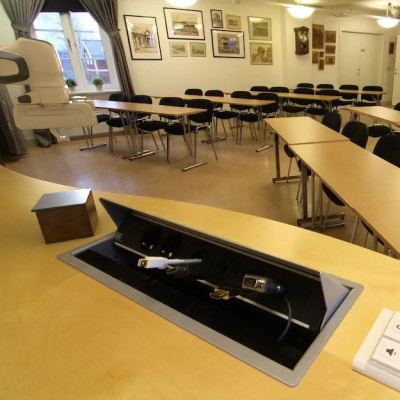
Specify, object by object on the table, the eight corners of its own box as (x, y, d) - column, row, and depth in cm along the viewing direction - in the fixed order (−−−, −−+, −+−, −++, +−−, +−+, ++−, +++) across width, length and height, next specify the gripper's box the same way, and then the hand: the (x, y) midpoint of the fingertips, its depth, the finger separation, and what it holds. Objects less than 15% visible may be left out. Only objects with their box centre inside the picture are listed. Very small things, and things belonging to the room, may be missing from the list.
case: (45, 244, 99) (35, 212, 95) (55, 224, 112) (47, 195, 108) (94, 235, 105) (86, 205, 101) (98, 218, 118) (91, 190, 114)
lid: (31, 212, 95) (30, 210, 95) (43, 196, 108) (43, 193, 107) (85, 205, 101) (85, 203, 101) (91, 190, 114) (91, 188, 113)
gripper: (93, 95, 105) (103, 138, 110) (12, 96, 96) (26, 142, 101) (91, 97, 100) (101, 141, 105) (4, 98, 91) (20, 146, 96)
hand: (64, 142), depth 103 cm, fingers closed
